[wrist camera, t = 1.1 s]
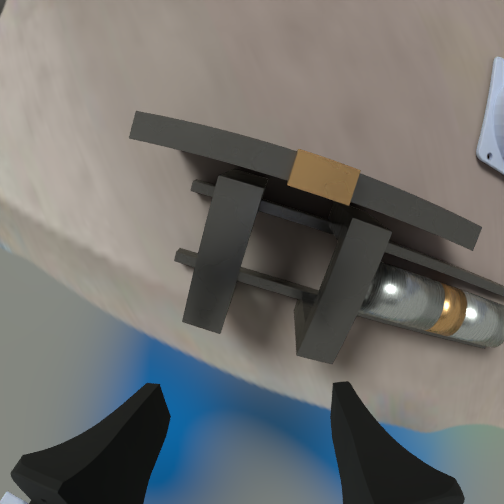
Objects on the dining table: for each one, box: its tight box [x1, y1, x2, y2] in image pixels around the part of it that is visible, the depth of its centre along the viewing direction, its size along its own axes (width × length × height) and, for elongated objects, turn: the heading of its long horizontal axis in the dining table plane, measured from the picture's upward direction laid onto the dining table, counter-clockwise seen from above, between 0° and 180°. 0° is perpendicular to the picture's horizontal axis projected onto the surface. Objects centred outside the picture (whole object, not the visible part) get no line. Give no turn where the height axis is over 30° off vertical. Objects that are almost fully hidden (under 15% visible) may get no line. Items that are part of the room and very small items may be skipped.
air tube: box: [358, 262, 504, 347], centre depth 18 cm, size 12×3×3 cm, turn 74°
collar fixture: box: [129, 111, 504, 364], centre depth 16 cm, size 26×9×7 cm, turn 74°
